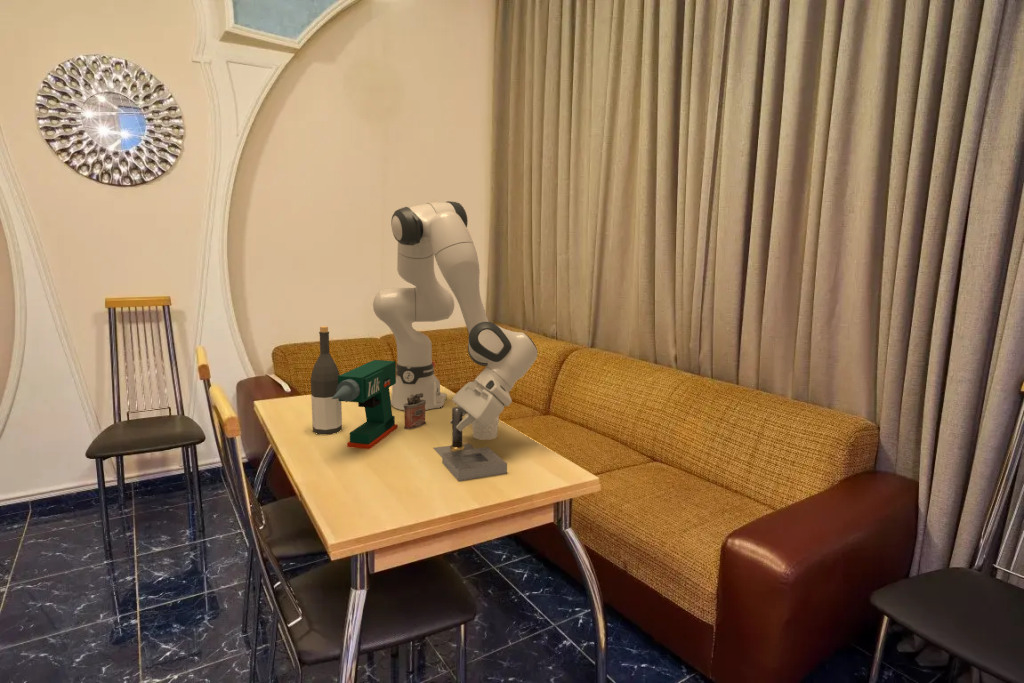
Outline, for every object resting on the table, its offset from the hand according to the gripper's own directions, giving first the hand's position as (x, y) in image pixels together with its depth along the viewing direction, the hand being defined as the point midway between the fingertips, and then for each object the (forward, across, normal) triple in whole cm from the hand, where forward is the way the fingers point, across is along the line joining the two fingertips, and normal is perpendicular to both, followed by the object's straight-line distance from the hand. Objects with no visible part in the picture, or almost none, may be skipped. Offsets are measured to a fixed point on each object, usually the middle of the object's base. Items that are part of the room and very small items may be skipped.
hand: (455, 426), depth 151 cm
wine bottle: (+25, -31, -14) cm, 42 cm away
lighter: (+8, -25, +3) cm, 26 cm away
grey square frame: (+5, +12, +6) cm, 14 cm away
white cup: (-3, -9, +14) cm, 17 cm away
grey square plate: (+5, 0, +6) cm, 7 cm away
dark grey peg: (+4, 0, +5) cm, 7 cm away
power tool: (+20, -15, -9) cm, 27 cm away
